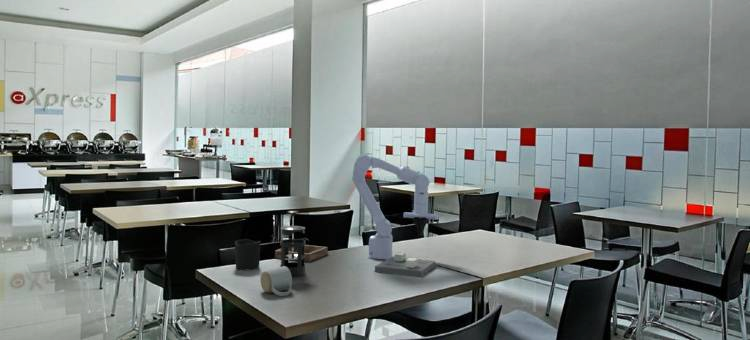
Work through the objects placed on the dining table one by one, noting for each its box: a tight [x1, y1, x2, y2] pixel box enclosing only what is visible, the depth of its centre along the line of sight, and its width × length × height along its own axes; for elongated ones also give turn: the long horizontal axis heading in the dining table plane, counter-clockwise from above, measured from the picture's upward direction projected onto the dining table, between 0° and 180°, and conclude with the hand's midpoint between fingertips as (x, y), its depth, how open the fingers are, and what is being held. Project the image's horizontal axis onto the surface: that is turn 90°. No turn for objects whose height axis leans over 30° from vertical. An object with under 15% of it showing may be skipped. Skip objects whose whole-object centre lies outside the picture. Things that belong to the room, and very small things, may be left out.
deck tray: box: [274, 244, 329, 262], centre depth 233 cm, size 16×16×3 cm
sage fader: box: [394, 251, 407, 261], centre depth 217 cm, size 3×4×2 cm, turn 158°
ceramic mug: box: [260, 266, 293, 297], centre depth 177 cm, size 11×8×8 cm
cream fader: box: [406, 257, 418, 268], centre depth 207 cm, size 3×4×2 cm, turn 158°
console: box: [374, 257, 436, 278], centre depth 212 cm, size 18×18×2 cm
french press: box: [279, 210, 307, 278], centre depth 202 cm, size 12×9×23 cm
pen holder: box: [234, 239, 261, 271], centre depth 211 cm, size 9×9×10 cm
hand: (420, 235), depth 231 cm, fingers closed
